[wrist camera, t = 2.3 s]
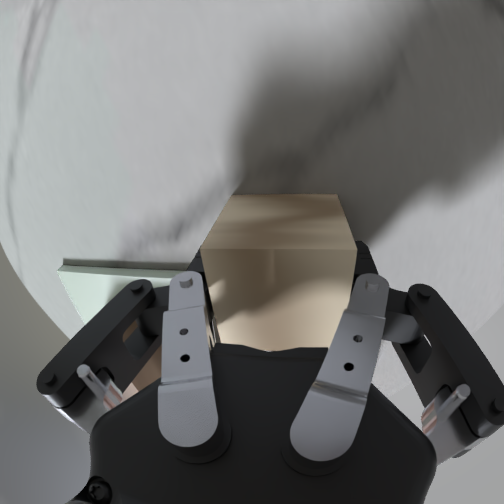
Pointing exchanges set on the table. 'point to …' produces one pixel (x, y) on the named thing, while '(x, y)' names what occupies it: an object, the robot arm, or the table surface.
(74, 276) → the build plate
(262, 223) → the cube maple
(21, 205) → the table surface
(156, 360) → the cube walnut
